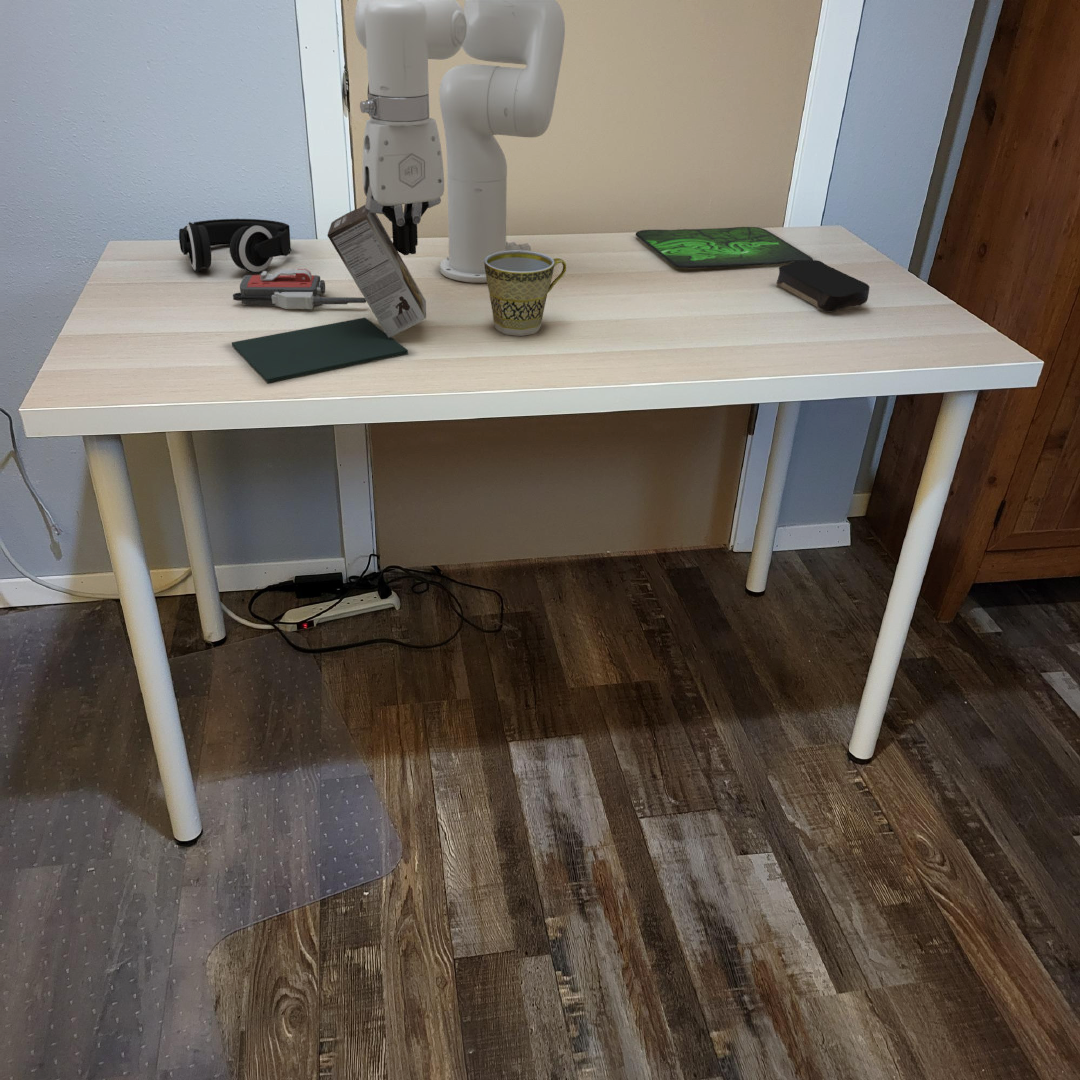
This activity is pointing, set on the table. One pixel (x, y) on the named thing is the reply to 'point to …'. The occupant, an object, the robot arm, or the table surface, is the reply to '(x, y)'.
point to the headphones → (236, 242)
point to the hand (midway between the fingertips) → (405, 251)
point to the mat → (317, 349)
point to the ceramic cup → (519, 289)
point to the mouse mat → (721, 247)
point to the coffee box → (378, 270)
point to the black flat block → (822, 285)
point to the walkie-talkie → (287, 290)
